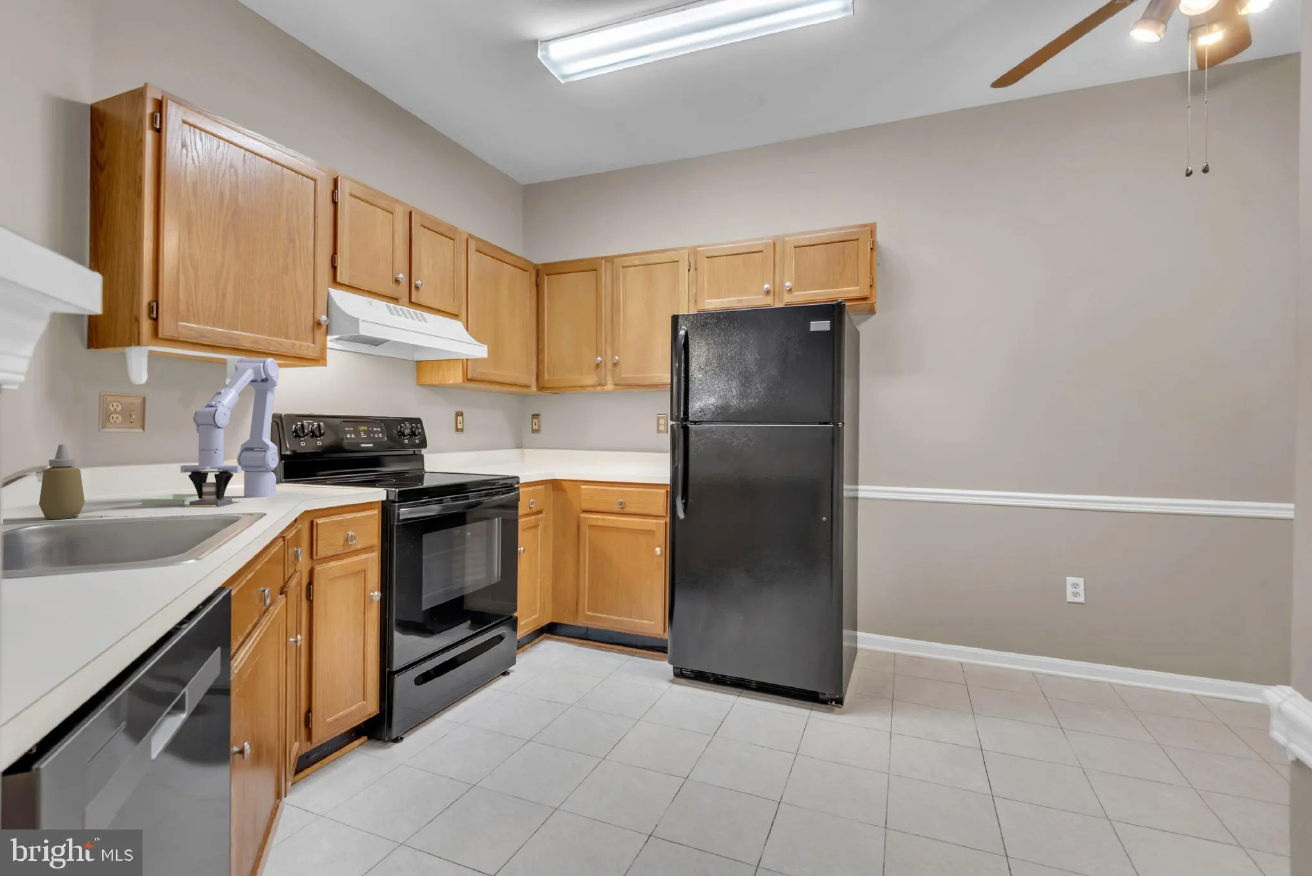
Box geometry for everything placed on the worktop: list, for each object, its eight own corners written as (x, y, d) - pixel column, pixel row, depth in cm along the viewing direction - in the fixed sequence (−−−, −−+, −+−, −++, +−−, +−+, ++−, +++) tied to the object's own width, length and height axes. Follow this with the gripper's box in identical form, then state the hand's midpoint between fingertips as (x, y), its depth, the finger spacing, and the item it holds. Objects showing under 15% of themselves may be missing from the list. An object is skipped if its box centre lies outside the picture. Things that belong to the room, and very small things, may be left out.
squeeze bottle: (32, 521, 145) (31, 445, 145) (48, 516, 153) (48, 444, 152) (76, 519, 149) (76, 445, 148) (90, 514, 156) (90, 444, 156)
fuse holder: (203, 505, 177) (203, 497, 177) (241, 505, 179) (241, 497, 179) (178, 510, 165) (178, 502, 165) (218, 510, 167) (218, 502, 167)
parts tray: (171, 502, 182) (171, 493, 182) (209, 502, 184) (209, 493, 183) (141, 508, 169) (141, 499, 169) (182, 508, 170) (182, 499, 170)
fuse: (207, 503, 174) (207, 482, 174) (223, 503, 174) (223, 482, 174) (198, 505, 170) (198, 483, 170) (215, 505, 170) (215, 483, 170)
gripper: (173, 450, 167) (173, 500, 167) (231, 450, 169) (231, 500, 169) (189, 449, 174) (189, 497, 174) (245, 449, 176) (244, 497, 176)
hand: (211, 498), depth 172 cm, fingers closed on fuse, 4 cm apart
